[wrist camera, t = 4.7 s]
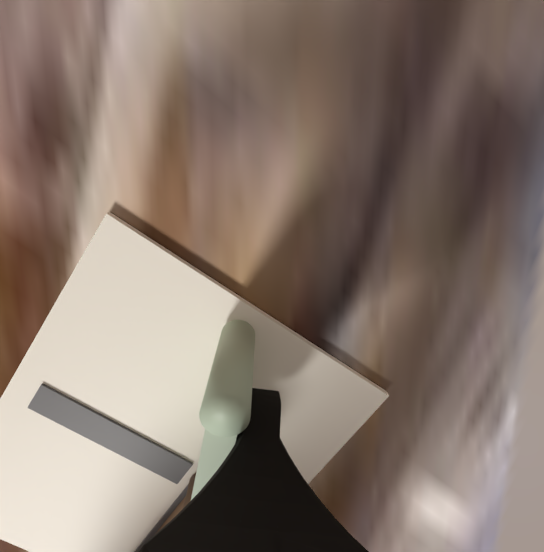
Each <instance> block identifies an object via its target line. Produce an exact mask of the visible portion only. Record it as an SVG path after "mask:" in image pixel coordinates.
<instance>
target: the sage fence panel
mask: <svg viewBox="0 0 544 552" xmlns="http://www.w3.org/2000/svg"><path fill="white" fill-rule="evenodd" d="M254 350H255V331H254V329H253V327H252V326H251V325H250V324H249V323H248V322H246V321H243V320H233V321H230V322H228V323H227V324H226V325H225V326H224V327H223V329H222V331H221V335H220V338H219V342H218V346H217V349H216V353H215V357H214V360H213V364H212V368H211V372H210V375H209V379H208V383H207V386H206V390H205V394H204V397H203V401H202V405H201V408H200V412H199V418H200V421H201V424H202V425H203V427H204V428H205V432H204V437H203V442H202V447H201V452H200V457H199V462H198V467H197V472H196V477H195V482H194V486H193V491H192V496H191V500H192V499H193V498H194V497H195V496H196V495H197V494H198V493H199V492H200V490H201V489H202V488H203V487H204V486H205V485H206V483H207V482H208V481H209V480H210V478H211V477H212V476H213V475H214V473H215V472H216V471H217V470H218V468H219V467H220V466H221V464H222V463H223V462H224V460H225V459H226V457H227V456H228V454H229V453H230V451H231V450H232V448H233V447H234V445H235V442H236V438H237V435H238V434H240V433H241V432H243V431H244V430H245V429H246V428H247V426H248V424H249V422H250V418H251V401H252V384H253V367H254Z"/></svg>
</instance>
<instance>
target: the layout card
mask: <svg viewBox="0 0 544 552" xmlns="http://www.w3.org/2000/svg"><path fill="white" fill-rule="evenodd" d="M233 320H243V321H246V322H248V323H249V324H250V325H251V326H252V327H253V329H254V331H255V350H254V367H253V384H252V388H258V389H266V390H274V391H279V394H280V399H281V421H280V439H281V441H282V443H283V445H284V446H285V448H286V450H287V452H288V454H289V456H290V457H291V459H292V461H293V462H294V464H295V466H296V467H297V469H298V470H299V472H300V473H301V475H302V476H303V478H304V479H305V481H306V482H307V484H309V483H310V482H311V480H312V479H313V478H314V477H315V476H316V475H317V474H318V473H319V472H320V471H321V470H322V469H323V467H324V466H325V465H326V464H327V463H328V462H329V461H330V460H331V459H332V458H333V457H334V455H335V454H336V453H337V452H338V451H339V450H340V449H341V448H342V447H343V446H344V445H345V443H346V442H347V441H348V440H349V439H350V438H351V437H352V436H353V435H354V434H355V433H356V431H357V430H358V429H359V428H360V427H361V426H362V425H363V424H364V423H365V422H366V421H367V420H368V418H369V417H370V416H371V415H372V414H373V413H374V412H375V411H376V410H377V409H378V408H379V406H380V405H381V404H382V403H383V402H384V401H385V400H386V399H387V398H388V397H389V395H388V393H387V391H386V390H384V389H383V388H381V387H379V386H378V385H376V384H375V383H373V382H372V381H370V380H369V379H367V378H366V377H364V376H362V375H361V374H359V373H358V372H356V371H355V370H353V369H352V368H350V367H349V366H347V365H345V364H344V363H342V362H341V361H339V360H338V359H336V358H335V357H333V356H332V355H330V354H328V353H327V352H325V351H324V350H322V349H321V348H319V347H318V346H316V345H315V344H313V343H311V342H310V341H308V340H307V339H305V338H304V337H302V336H301V335H299V334H298V333H296V332H294V331H293V330H291V329H290V328H288V327H287V326H285V325H284V324H282V323H281V322H279V321H277V320H276V319H274V318H273V317H271V316H270V315H268V314H267V313H265V312H264V311H262V310H260V309H259V308H257V307H256V306H254V305H253V304H251V303H250V302H248V301H247V300H245V299H243V298H242V297H240V296H239V295H237V294H236V293H234V292H233V291H231V290H229V289H228V288H226V287H225V286H223V285H222V284H220V283H219V282H217V281H216V280H214V279H212V278H211V277H209V276H208V275H206V274H205V273H203V272H202V271H200V270H199V269H197V268H195V267H194V266H192V265H191V264H189V263H188V262H186V261H185V260H183V259H182V258H180V257H178V256H177V255H175V254H174V253H172V252H171V251H169V250H168V249H166V248H165V247H163V246H161V245H160V244H158V243H157V242H155V241H154V240H152V239H151V238H149V237H148V236H146V235H144V234H143V233H141V232H140V231H138V230H137V229H135V228H134V227H132V226H131V225H129V224H127V223H126V222H124V221H123V220H121V219H120V218H118V217H117V216H115V215H114V214H112V213H106V215H105V217H104V219H103V220H102V222H101V224H100V226H99V227H98V229H97V231H96V233H95V234H94V236H93V238H92V240H91V241H90V243H89V245H88V247H87V248H86V250H85V252H84V254H83V255H82V257H81V259H80V261H79V262H78V264H77V266H76V268H75V269H74V271H73V273H72V275H71V276H70V278H69V280H68V281H67V283H66V285H65V287H64V288H63V290H62V292H61V294H60V295H59V297H58V299H57V301H56V302H55V304H54V306H53V308H52V309H51V311H50V313H49V315H48V316H47V318H46V320H45V322H44V323H43V325H42V327H41V329H40V330H39V332H38V334H37V336H36V337H35V339H34V341H33V343H32V344H31V346H30V348H29V350H28V351H27V353H26V355H25V357H24V358H23V360H22V362H21V364H20V365H19V367H18V369H17V371H16V372H15V374H14V376H13V378H12V379H11V381H10V383H9V385H8V386H7V388H6V390H5V392H4V393H3V395H2V397H1V399H0V539H2V540H4V541H6V542H9V543H11V544H13V545H16V546H18V547H20V548H22V549H25V550H27V551H29V552H139V551H140V549H141V547H142V546H143V544H145V543H146V542H147V541H148V540H149V539H150V538H152V537H153V536H154V535H155V533H156V532H157V531H158V530H159V528H160V527H161V526H162V525H163V523H164V522H165V521H166V520H167V519H168V517H169V516H170V515H171V514H172V512H173V511H174V510H175V509H176V507H177V506H178V505H179V504H180V502H181V501H182V500H183V499H184V498H185V496H186V493H187V489H188V485H189V481H190V478H191V476H192V475H193V474H194V473H196V472H197V467H198V462H199V457H200V452H201V447H202V442H203V437H204V432H205V428H204V427H203V425H202V424H201V421H200V418H199V412H200V408H201V405H202V401H203V397H204V394H205V390H206V386H207V383H208V379H209V375H210V372H211V368H212V364H213V360H214V357H215V353H216V349H217V346H218V342H219V338H220V335H221V331H222V329H223V327H224V326H225V325H226V324H227V323H228V322H230V321H233Z"/></svg>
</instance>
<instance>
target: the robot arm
mask: <svg viewBox="0 0 544 552" xmlns="http://www.w3.org/2000/svg"><path fill="white" fill-rule="evenodd" d="M280 421H281V399H280V394H279V391H274V390H266V389H258V388H252V401H251V418H250V422H249V424H248V426H247V428H246V429H245V430H244V431H243V432H241V433H240V434H238V435H237V438H236V442H235V445H234V447H233V448H232V450H231V451H230V453H229V454H228V456H227V457H226V459H225V460H224V462H223V463H222V464H221V466H220V467H219V468H218V470H217V471H216V472H215V473H214V475H213V476H212V477H211V478H210V480H209V481H208V482H207V483H206V485H205V486H204V487H203V488H202V489H201V490H200V492H199V493H198V494H197V495H196V496H195V497H194V498H193V499H192V500H191V501H190V502H189V503H188V504H187V505H186V506H185V507H184V508H183V509H182V510H181V511H180V512H179V513H178V514H177V515H176V516H175V517H174V518H173V519H172V520H171V521H170V522H169V523H168V524H166V525H165V526H164V527H163V528H162V529H161V530H160V531H158V532H157V533H156V534H155V535H154V536H153V537H152V538H150V539H149V540H148V541H147V542H146V543H145V544H143V546H142V547H141V549H140V551H139V552H368V551H367V550H366V549H365V548H364V547H363V546H362V545H361V544H360V543H359V542H358V541H357V540H355V539H354V538H353V537H352V536H351V535H350V534H349V533H348V531H347V530H346V529H345V528H344V527H343V526H342V525H341V524H340V523H339V522H338V521H337V520H336V519H335V518H334V516H333V515H332V514H331V513H330V512H329V510H328V509H327V508H326V507H325V506H324V504H323V503H322V502H321V501H320V500H319V498H318V497H317V496H316V495H315V493H314V492H313V491H312V489H311V488H310V486H309V485H308V484H307V482H306V481H305V479H304V478H303V476H302V475H301V473H300V472H299V470H298V469H297V467H296V466H295V464H294V462H293V461H292V459H291V457H290V456H289V454H288V452H287V450H286V448H285V446H284V445H283V443H282V441H281V439H280Z"/></svg>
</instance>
